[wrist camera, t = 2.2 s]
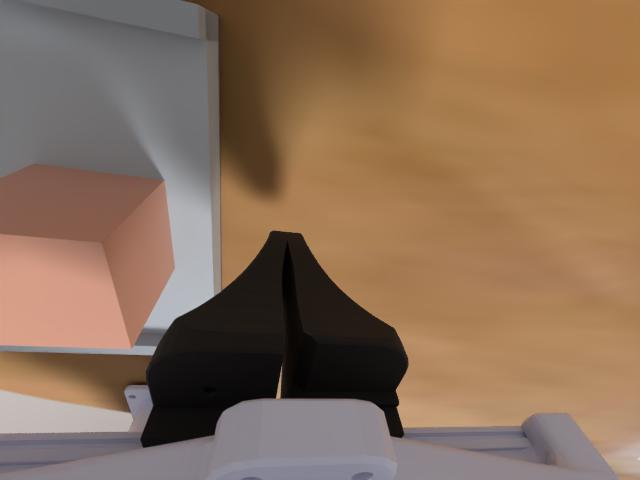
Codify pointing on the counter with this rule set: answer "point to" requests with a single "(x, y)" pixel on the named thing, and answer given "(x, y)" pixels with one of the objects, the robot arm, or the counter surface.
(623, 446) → the counter surface
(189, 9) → the trap board
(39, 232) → the block
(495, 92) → the counter surface
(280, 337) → the robot arm
